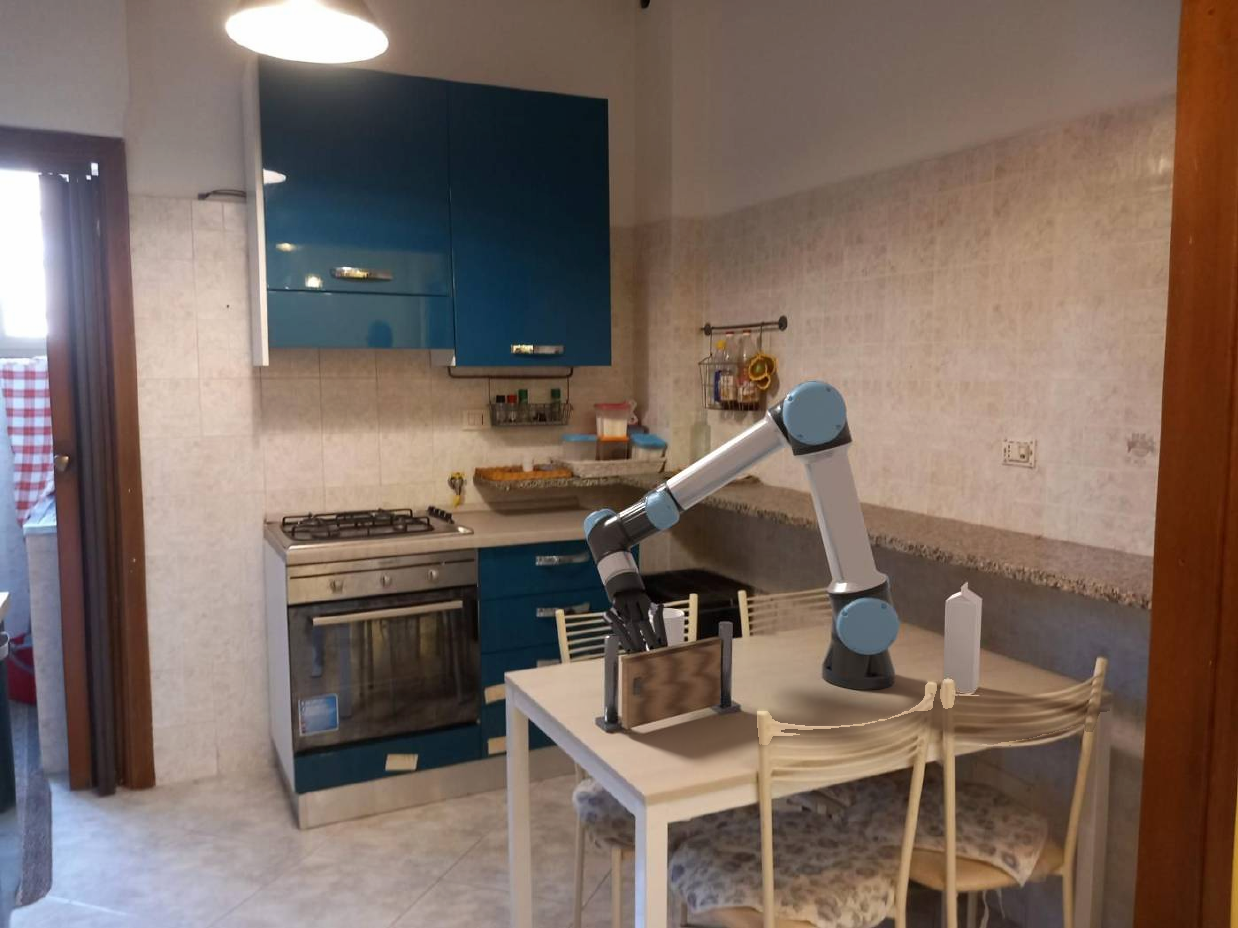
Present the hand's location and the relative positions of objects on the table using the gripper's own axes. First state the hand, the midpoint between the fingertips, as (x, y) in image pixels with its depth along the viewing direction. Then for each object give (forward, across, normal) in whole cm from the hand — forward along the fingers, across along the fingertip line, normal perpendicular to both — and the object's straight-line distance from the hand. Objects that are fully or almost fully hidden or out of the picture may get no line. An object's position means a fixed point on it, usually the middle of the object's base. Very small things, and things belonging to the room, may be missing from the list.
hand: (661, 686), depth 175 cm
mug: (-17, -18, -28) cm, 37 cm away
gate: (+5, -1, -2) cm, 6 cm away
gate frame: (+4, -2, -5) cm, 7 cm away
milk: (+14, -64, +4) cm, 66 cm away
